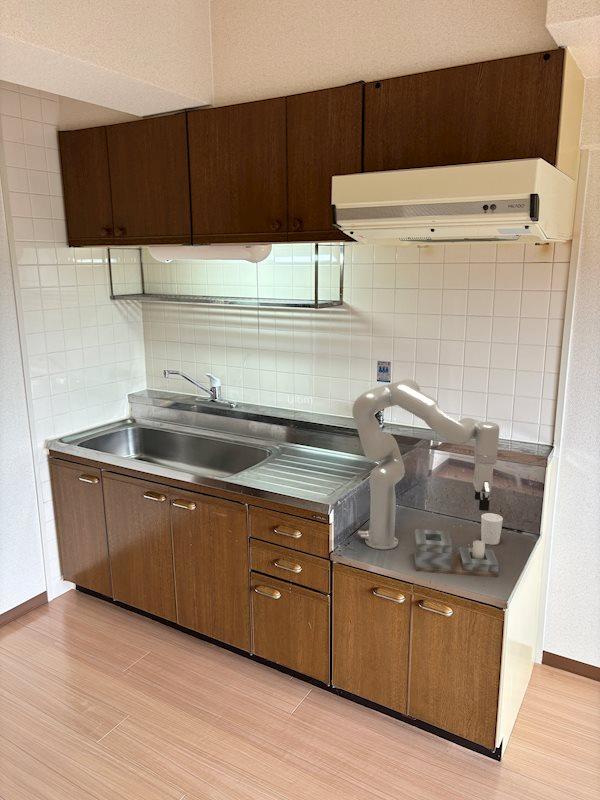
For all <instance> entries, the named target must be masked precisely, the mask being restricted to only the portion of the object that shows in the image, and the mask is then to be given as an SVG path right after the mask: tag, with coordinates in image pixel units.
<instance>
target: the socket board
mask: <svg viewBox="0 0 600 800" xmlns="http://www.w3.org/2000/svg"><path fill="white" fill-rule="evenodd" d="M413 547H414V549H413V555H414V567H415V572H422V571H423V572H424V573H436V574H438V573H439V574H451V575H452V574H453V575H464V576H465V575H467V576H477V577H479V576H480V577H491V578H492V577H494V578H498V577H499V562H498V560H497V557H496V555H495V552H494V549H491V548H485V550H484V560H482V559H472V552H473V547H462V546H461V547H460V546H459V547H458V553H455V552H454V553H453V543H452V539H451V534H450V531H448V530H436V529H435V530H433V529H418V528H416V529H415V530H414V546H413ZM423 572H422V573H423Z"/></svg>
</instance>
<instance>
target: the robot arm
mask: <svg viewBox="0 0 600 800" xmlns="http://www.w3.org/2000/svg"><path fill="white" fill-rule="evenodd" d="M419 385H420V384H418V383H417V382H416V381H415V380H412V379H403V380H401V381H397V382H393V383H390V384H389V383H388V384H385V385H381V386H378V387H375V388H373V389H369V390H368V391H365V392H363V393H362V394H361V395H359V396H358V397H357V398H356V399H355V401H354V403H353V405H352V417H353V421H354V424H355V426H356V429H357V433H358V436H359V439H360V442H361V446H362V449H363V453H364V455H365V457H366V459H367V460H368V461H370V462H372V463H378V462H379V464H378V465H376V466H375V467H373V468H372V470H371V472H370V474H369V482H368V483H369V489H370V511H369V528H368V530H357V536H360V538H362V539H364V541H365V542H364V543H365V544H366V545H367V546H368V547H370V548H372V549H375V550H376V549H377V550H391V549H395V548H396V547H398V544H399V540H398V538H397V537H396V536H395V533H396V531H395V529H396V527H395V526H396V503H397V500H396V499H397V498H396V497H397V496H396V491H395V488H396V487H395V486H396V484H398V483H399V482H400V481H401V480H402V479H403V478H404V476H405V473H406V469H405V464H404V460H403V458H402V454H401V450H400V448H399V444H398V442H397V440H396V438H395V437H394V436H393V435H392V434H391V433H390V432H386V431H382V428H381V425H380V422H379V420H378V419H377V418H376V413H378V412H380V411H382V410H385V409H387V408H390V407H393V406H398V407H399V408H402V409H403V410H405V411H407V412H409V413H410V414H412V415H414V416H416V417H417V418H419V419H421V420H422V421H423V422H425V424H426V425H427V426H428V428H430V429H431V430H432V431H434V433H435V434H437V435H438V436H440V437H442V438H444V439H446V441H449V442H450V443H452V444H455V445H460V446H463V445H466V444H467V443H469V442H470V441H471V440H475V443H474V457H473V462H474V463H475V465H474V472H473V482H472V484H473V487H474V489H475V490H474V491H475V492H474V500H476V501H479V503H478V510H479V511H483V512H484V511H485V512H488V511H489V510H490V493H492V488H493V477H494V466H495V465H497V464H498V463H497V462H498V461H497V460H498V451H499V439H500V426H499V425H498V424H497V423H495V422H491V421H481V420H478V419H474V418H471V417H463V418H461V419H460V420H458V421H457V420H455V419H453V418H452V417H450V416H448V415H447V414H446V413H444V412H443V411H442V410H441V408H440V405H439V402H438V400H436V399H435V398H434V397H431V396H430V395H429V394H426V393H424V392H423V391H421V388H420V386H419Z"/></svg>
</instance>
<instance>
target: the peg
mask: <svg viewBox="0 0 600 800" xmlns="http://www.w3.org/2000/svg"><path fill="white" fill-rule="evenodd" d="M472 548H473V552H472V559H482V560H484V550H485V549H486V543H484V542H483V541H481V540H473V542H472Z"/></svg>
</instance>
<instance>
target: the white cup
mask: <svg viewBox="0 0 600 800" xmlns="http://www.w3.org/2000/svg"><path fill="white" fill-rule="evenodd" d="M480 517H481V523H480V531H481V532H480V535H481V536H480V538H481V540H480V541H483V542H484V543H485V545H486V544H487V545H492V546H495V545H498V544H500V540H501V535H502V534H501V533H502V528H503V522H504V521H503V516H501V514H496V513H491V512H489V513H483V514H481V516H480Z"/></svg>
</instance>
